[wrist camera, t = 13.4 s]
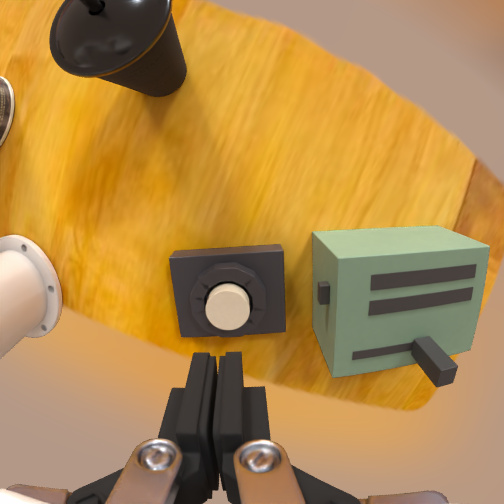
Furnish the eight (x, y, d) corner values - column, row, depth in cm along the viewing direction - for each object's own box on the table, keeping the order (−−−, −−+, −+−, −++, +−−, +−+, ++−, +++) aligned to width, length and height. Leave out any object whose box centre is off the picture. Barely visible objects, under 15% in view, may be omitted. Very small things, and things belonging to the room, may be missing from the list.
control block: (185, 326, 32) (178, 346, 28) (174, 250, 30) (164, 262, 26) (283, 321, 32) (287, 340, 28) (280, 243, 30) (285, 255, 26)
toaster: (304, 327, 33) (322, 380, 24) (303, 231, 30) (326, 258, 21) (428, 312, 33) (470, 350, 24) (437, 225, 30) (490, 246, 21)
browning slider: (410, 354, 24) (436, 388, 19) (413, 338, 23) (441, 370, 18) (426, 351, 24) (453, 383, 19) (429, 335, 23) (458, 365, 18)
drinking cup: (172, 125, 27) (50, 67, 8) (109, 91, 26) (-39, 28, 7) (218, 58, 26) (179, -85, 6) (153, 27, 24) (59, -96, 5)
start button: (210, 321, 28) (208, 331, 27) (205, 284, 27) (203, 291, 26) (250, 319, 28) (250, 329, 27) (248, 281, 27) (248, 289, 26)
